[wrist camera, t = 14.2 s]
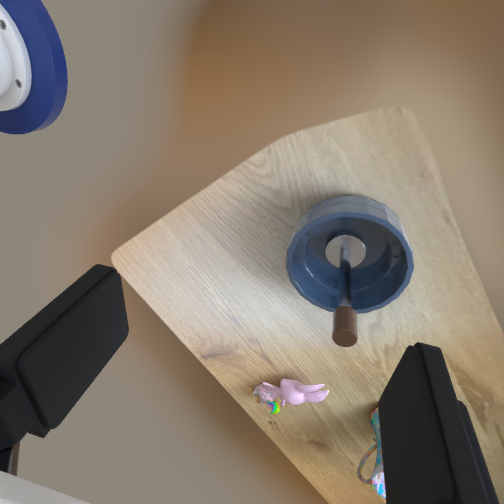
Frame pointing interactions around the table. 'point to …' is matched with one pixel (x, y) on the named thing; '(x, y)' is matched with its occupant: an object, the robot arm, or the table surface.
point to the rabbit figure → (288, 393)
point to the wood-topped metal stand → (345, 283)
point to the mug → (378, 473)
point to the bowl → (363, 275)
